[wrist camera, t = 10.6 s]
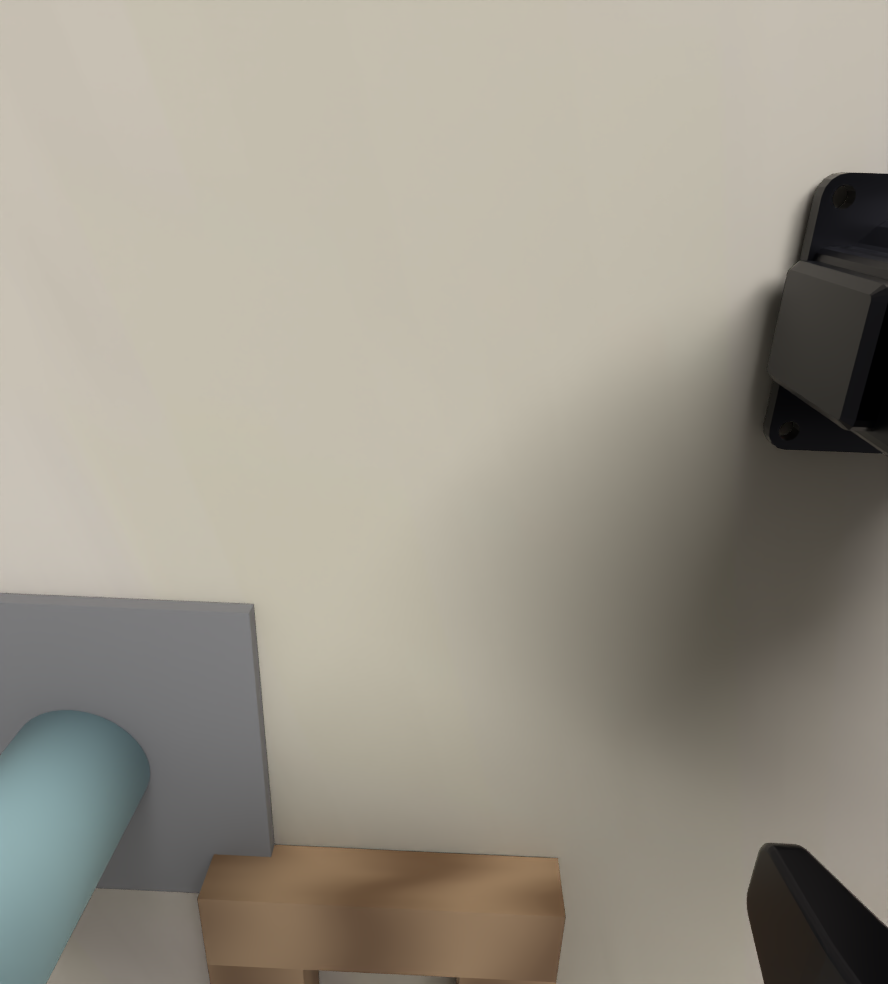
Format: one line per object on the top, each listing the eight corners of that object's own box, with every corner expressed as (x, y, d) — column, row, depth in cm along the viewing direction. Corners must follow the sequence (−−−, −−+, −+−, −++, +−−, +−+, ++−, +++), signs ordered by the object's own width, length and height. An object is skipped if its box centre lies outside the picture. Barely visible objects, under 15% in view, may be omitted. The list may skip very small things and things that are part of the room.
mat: (253, 603, 22) (249, 613, 21) (278, 884, 27) (274, 896, 26) (-145, 586, 22) (-157, 596, 22) (-48, 868, 27) (-57, 880, 26)
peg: (139, 713, 23) (-47, 1023, 15) (158, 814, 25) (4, 1140, 17) (0, 706, 23) (-259, 1011, 15) (30, 808, 25) (-186, 1128, 17)
